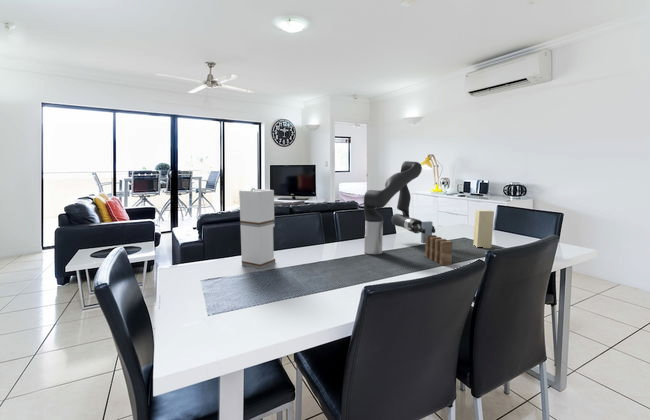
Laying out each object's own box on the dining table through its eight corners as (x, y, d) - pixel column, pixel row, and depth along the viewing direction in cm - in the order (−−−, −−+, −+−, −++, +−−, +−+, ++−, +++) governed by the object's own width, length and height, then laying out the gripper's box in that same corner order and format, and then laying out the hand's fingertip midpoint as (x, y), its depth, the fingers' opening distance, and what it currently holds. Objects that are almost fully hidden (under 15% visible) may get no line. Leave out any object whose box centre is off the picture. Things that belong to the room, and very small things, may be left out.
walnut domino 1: (424, 256, 174) (425, 235, 172) (433, 256, 175) (434, 235, 174) (426, 257, 172) (427, 236, 170) (435, 257, 173) (436, 235, 172)
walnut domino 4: (439, 264, 161) (440, 241, 159) (448, 263, 162) (450, 240, 161) (441, 265, 159) (443, 242, 158) (451, 264, 160) (452, 241, 159)
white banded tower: (275, 263, 163) (273, 190, 158) (260, 268, 154) (258, 191, 149) (257, 259, 169) (255, 189, 164) (241, 265, 160) (239, 190, 155)
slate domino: (421, 242, 178) (421, 221, 176) (429, 241, 179) (430, 221, 177) (422, 243, 176) (423, 222, 174) (431, 242, 177) (432, 221, 175)
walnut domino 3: (434, 261, 165) (435, 239, 164) (443, 260, 166) (444, 238, 165) (436, 262, 163) (437, 240, 162) (445, 262, 165) (447, 239, 163)
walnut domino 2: (429, 259, 170) (430, 237, 168) (438, 258, 171) (439, 236, 169) (431, 260, 168) (432, 238, 166) (440, 259, 169) (441, 237, 167)
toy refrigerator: (486, 245, 198) (489, 209, 195) (491, 248, 191) (494, 211, 188) (472, 245, 199) (474, 209, 196) (477, 248, 191) (479, 211, 189)
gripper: (401, 219, 188) (417, 224, 171) (425, 218, 191) (442, 223, 175) (401, 232, 189) (416, 239, 173) (424, 231, 192) (441, 237, 176)
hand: (429, 231), depth 174 cm, fingers closed on slate domino, 5 cm apart
